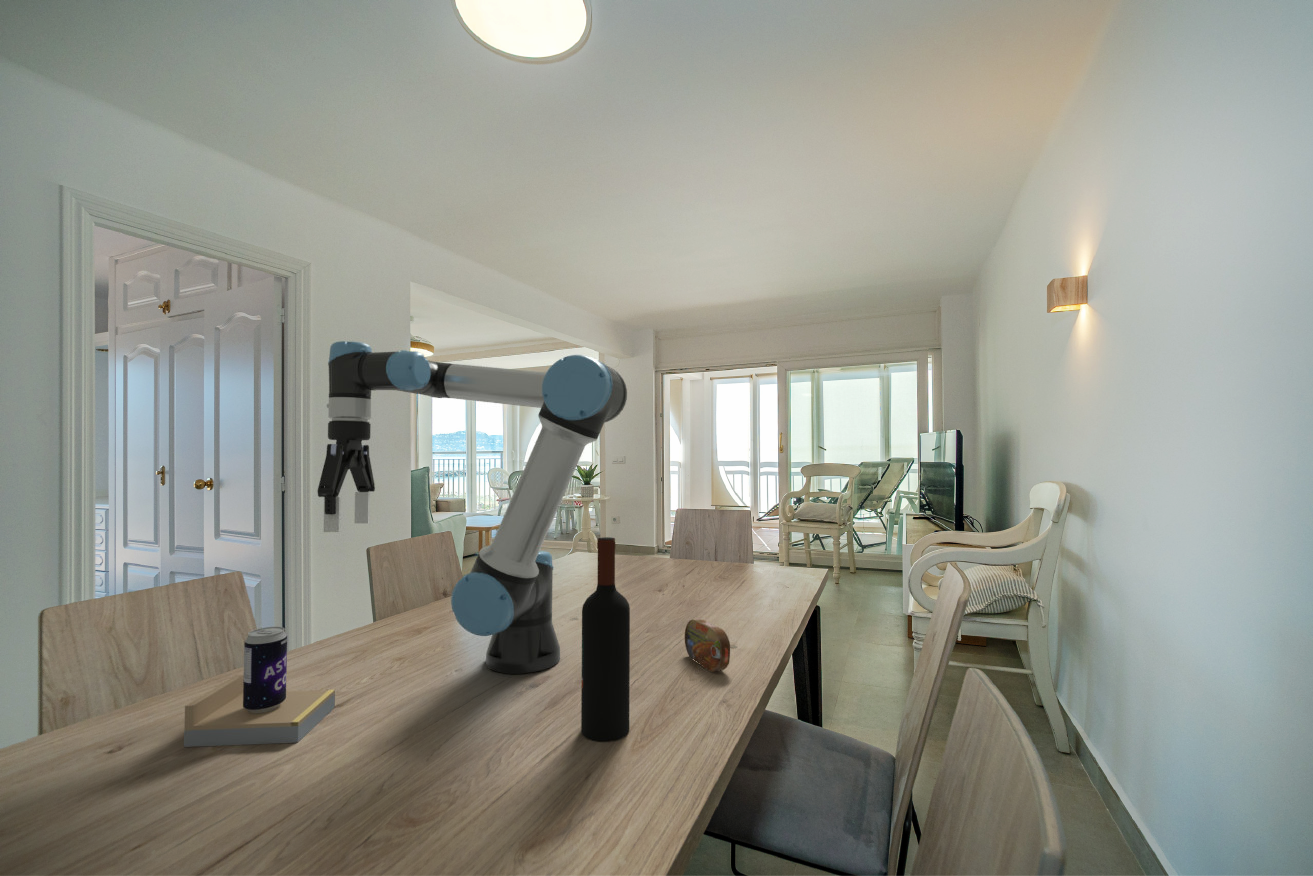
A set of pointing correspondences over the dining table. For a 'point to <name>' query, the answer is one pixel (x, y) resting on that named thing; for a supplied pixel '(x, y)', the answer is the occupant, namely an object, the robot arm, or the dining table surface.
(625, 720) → the wine bottle
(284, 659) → the beverage can
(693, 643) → the tin
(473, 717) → the dining table surface
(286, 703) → the dock
